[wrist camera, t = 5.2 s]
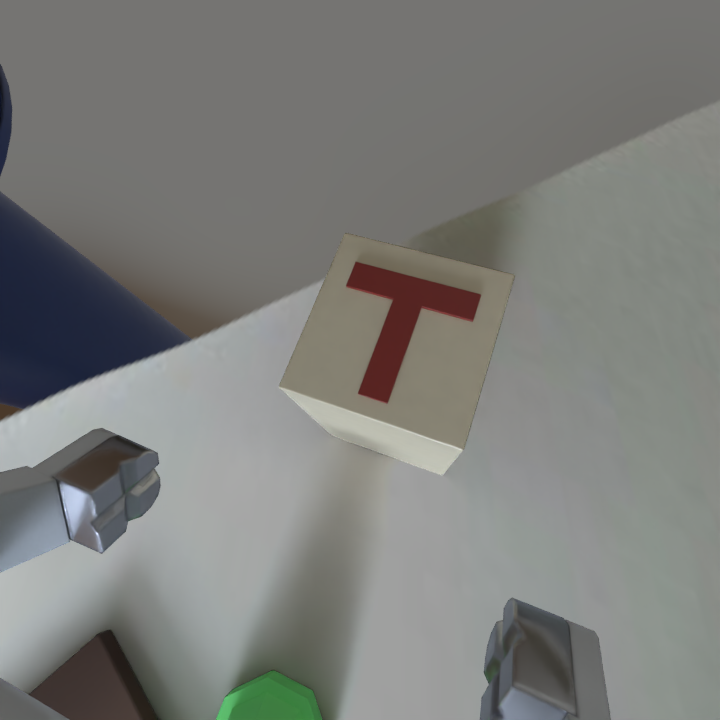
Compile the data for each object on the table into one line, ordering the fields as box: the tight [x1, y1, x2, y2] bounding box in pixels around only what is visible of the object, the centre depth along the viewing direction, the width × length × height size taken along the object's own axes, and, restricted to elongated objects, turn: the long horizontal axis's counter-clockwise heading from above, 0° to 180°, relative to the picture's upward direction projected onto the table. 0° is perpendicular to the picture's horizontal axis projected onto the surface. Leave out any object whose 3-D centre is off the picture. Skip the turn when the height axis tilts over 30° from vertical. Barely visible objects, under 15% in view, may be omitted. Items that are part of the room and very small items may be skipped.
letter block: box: [279, 233, 515, 475], centre depth 15 cm, size 5×5×8 cm
